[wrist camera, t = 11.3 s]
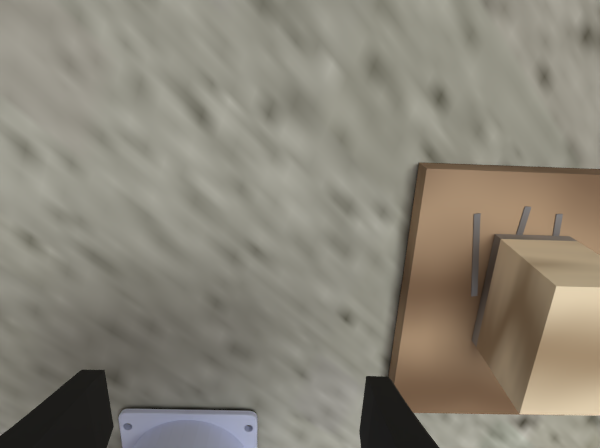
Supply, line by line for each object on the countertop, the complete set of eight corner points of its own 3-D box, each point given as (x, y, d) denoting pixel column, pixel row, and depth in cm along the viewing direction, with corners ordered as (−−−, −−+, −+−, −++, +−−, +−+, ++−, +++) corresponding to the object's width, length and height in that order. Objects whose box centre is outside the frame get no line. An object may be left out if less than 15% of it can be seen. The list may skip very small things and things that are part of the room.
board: (551, 399, 25) (564, 416, 24) (385, 396, 25) (390, 413, 24) (625, 170, 20) (645, 176, 19) (419, 162, 20) (427, 168, 19)
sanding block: (539, 341, 22) (604, 415, 18) (471, 340, 22) (519, 414, 18) (569, 236, 20) (652, 288, 16) (495, 233, 20) (556, 286, 15)
